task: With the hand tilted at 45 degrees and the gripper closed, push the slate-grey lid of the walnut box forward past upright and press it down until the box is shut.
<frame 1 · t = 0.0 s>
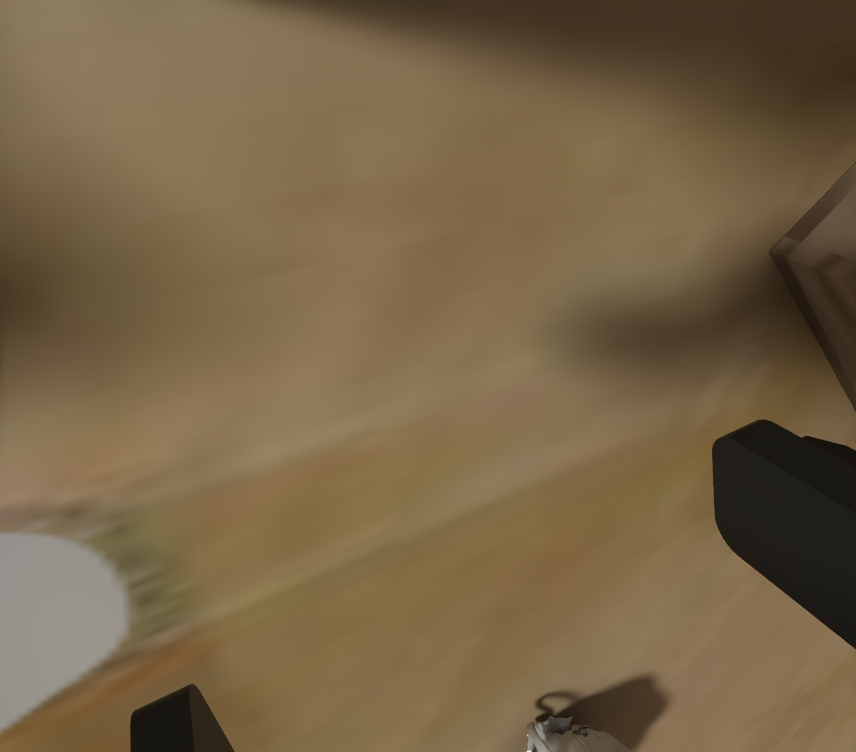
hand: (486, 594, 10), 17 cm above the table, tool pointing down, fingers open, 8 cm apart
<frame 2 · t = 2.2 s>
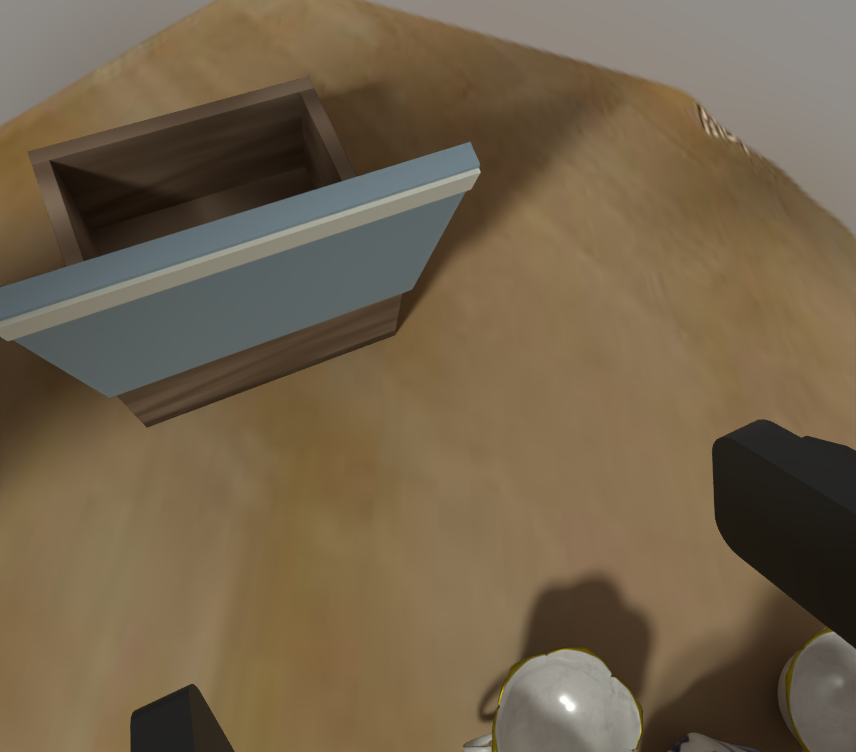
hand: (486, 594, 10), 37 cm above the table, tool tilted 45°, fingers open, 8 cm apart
box: (237, 282, 51), on the table
lid: (259, 293, 33), point 17 cm above the table, hinge at 100.0°
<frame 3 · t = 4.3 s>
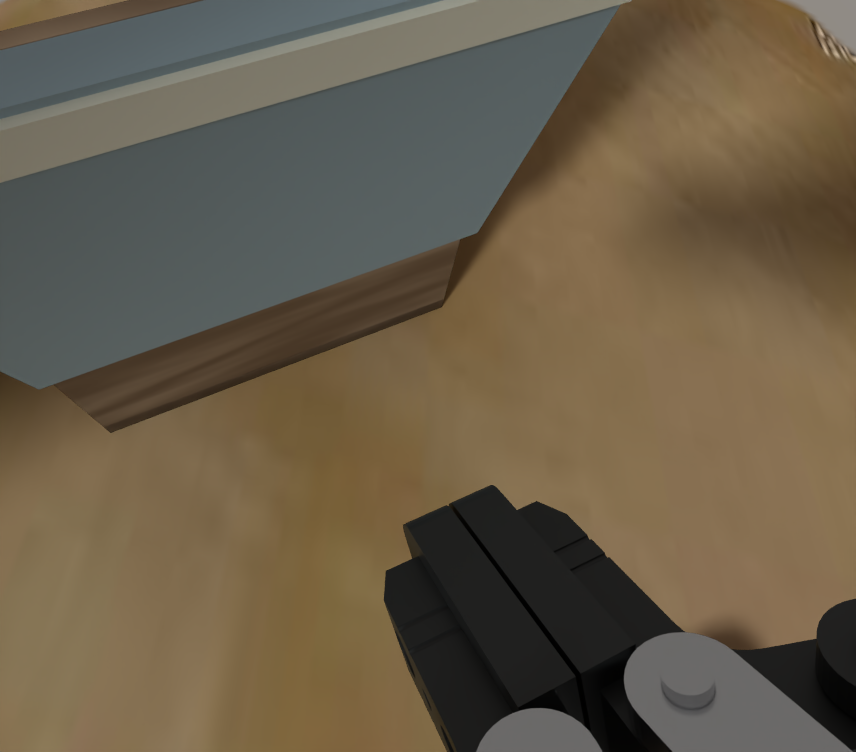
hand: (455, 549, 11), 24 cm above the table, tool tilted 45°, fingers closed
box: (232, 240, 39), on the table
lid: (258, 212, 20), point 17 cm above the table, hinge at 100.0°
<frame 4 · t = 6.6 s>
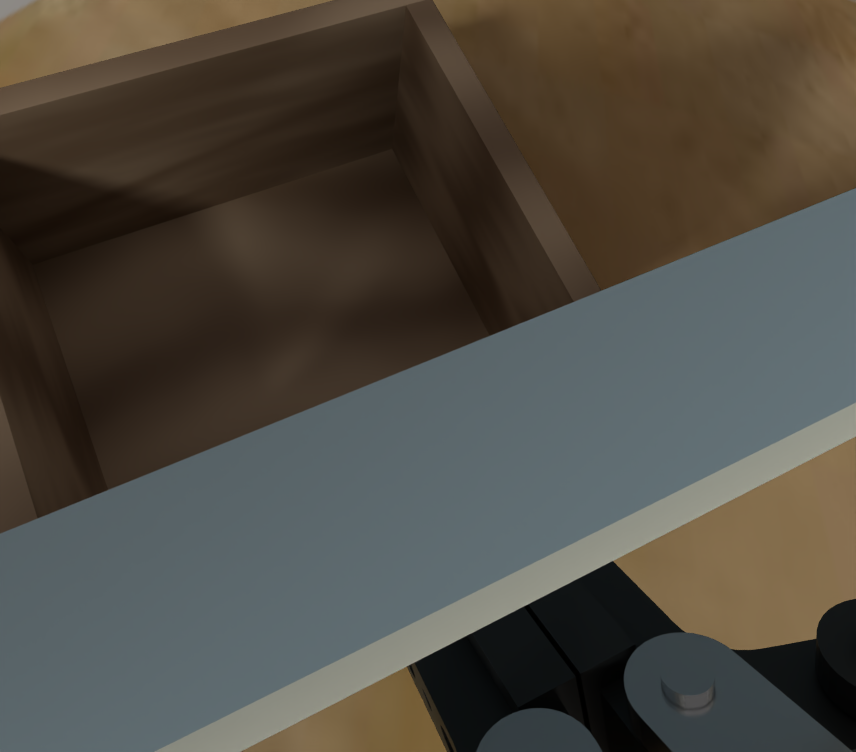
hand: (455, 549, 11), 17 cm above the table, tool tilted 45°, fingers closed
box: (285, 350, 30), on the table
lid: (426, 484, 11), point 17 cm above the table, hinge at 98.0°, touching gripper
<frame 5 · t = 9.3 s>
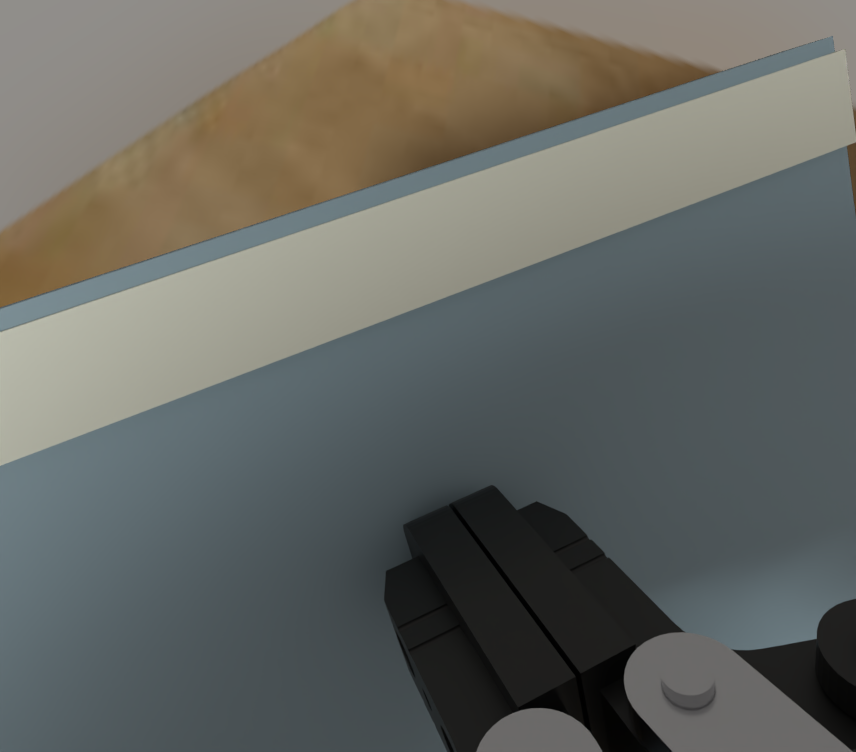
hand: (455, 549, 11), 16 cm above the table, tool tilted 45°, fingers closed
lid: (472, 664, 12), point 14 cm above the table, hinge at 32.7°, touching gripper
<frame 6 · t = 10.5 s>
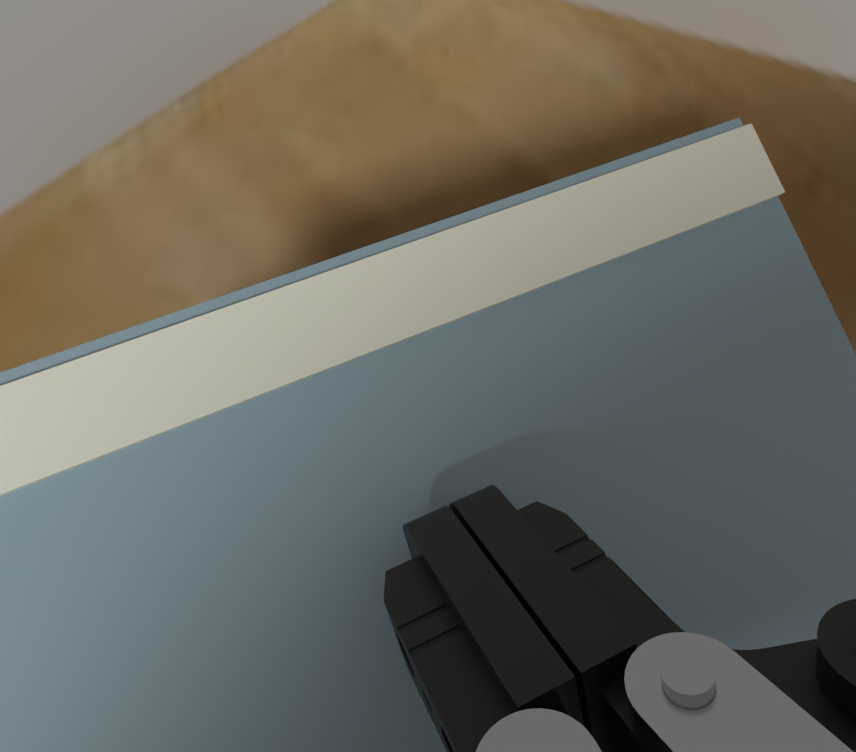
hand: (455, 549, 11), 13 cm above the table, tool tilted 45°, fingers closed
lid: (496, 719, 11), point 11 cm above the table, hinge at 10.3°, touching gripper
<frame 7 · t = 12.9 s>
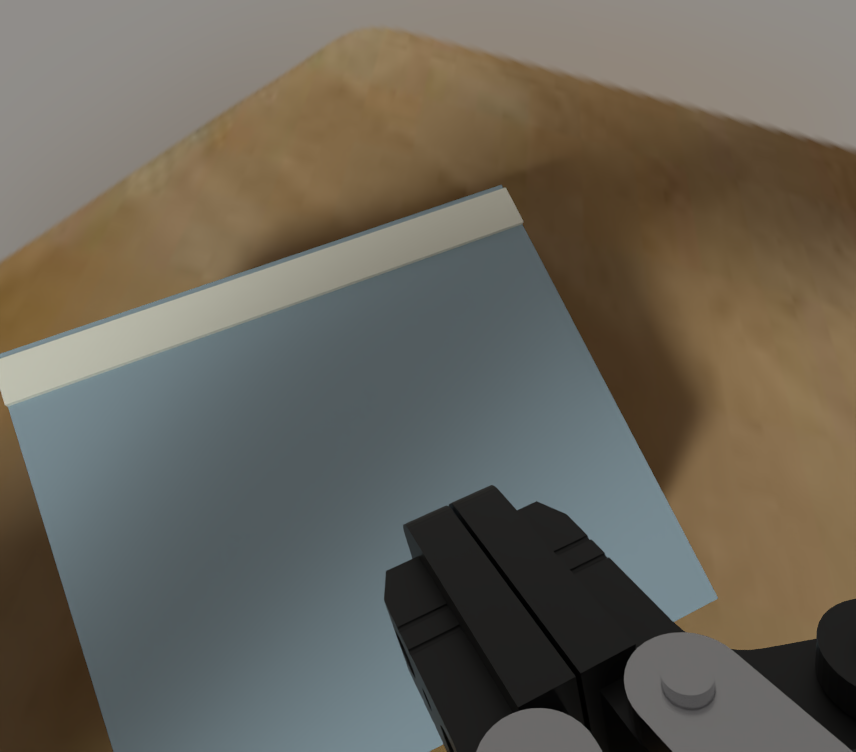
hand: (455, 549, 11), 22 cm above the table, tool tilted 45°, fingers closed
lid: (358, 480, 23), point 10 cm above the table, hinge at 2.9°
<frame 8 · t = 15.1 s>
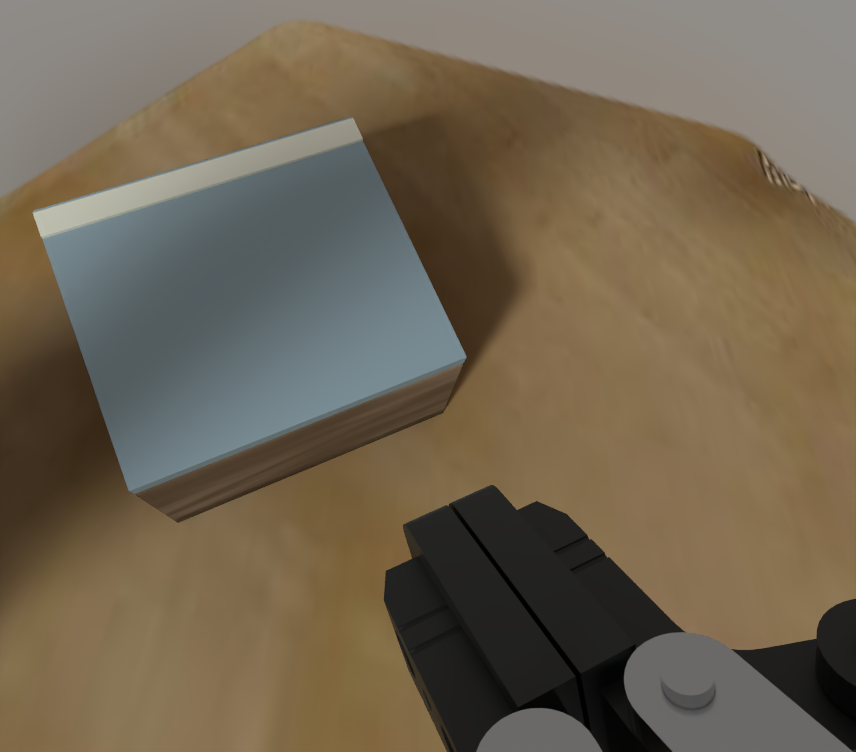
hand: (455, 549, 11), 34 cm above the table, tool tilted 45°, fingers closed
box: (272, 357, 47), on the table
lid: (252, 287, 38), point 10 cm above the table, hinge at 2.9°
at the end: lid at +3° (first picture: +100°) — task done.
